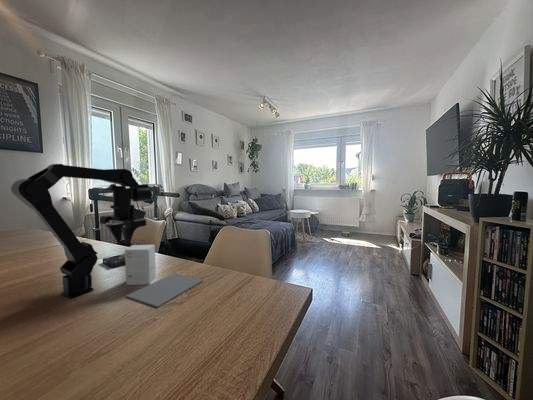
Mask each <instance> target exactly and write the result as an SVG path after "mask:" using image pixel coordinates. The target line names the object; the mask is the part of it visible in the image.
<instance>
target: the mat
mask: <svg viewBox="0 0 533 400" xmlns="http://www.w3.org/2000/svg"><path fill="white" fill-rule="evenodd" d="M202 281H203V282H204V279H200V278H196V277H191V276H187V275H183V274H179V273H176V272H175V273H172V274H170V275H168V276H166V277H163V278H161V279H159V280H157V281H154V282H153V283H152V282H151V283H150V284H148V285H147V286H143V287H142V288H140V289H138V290H135V291H133V292H132V293H129V294H125V295H126V298H128V299H131V300H133V301H136V302H139V303H142V304H146V305H149V306H151V307H154V308H157V309H158V308H160V307H162V306H163V305H165V304H167V303H168V302H170V301H172V300H174V299H176V298H177V297H179V296H180V295H182V294H184V293H185V291H186V292H187V291H189V290H191V289H192V288H194V287H195V285H196V286H198V285H199V284H201V283H203V282H202ZM200 282H201V283H200ZM197 284H198V285H197ZM190 288H191V289H190Z"/></svg>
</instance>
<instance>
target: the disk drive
mask: <svg viewBox="0 0 533 400" xmlns="http://www.w3.org/2000/svg"><path fill="white" fill-rule="evenodd" d="M102 264H104V265H105V266H107V267H108V268H110V269H116V268H120V267H124V266H126V265H125V253H122V254H117V255H113V256H108V257H104V258H102Z"/></svg>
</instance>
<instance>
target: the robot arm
mask: <svg viewBox="0 0 533 400" xmlns="http://www.w3.org/2000/svg"><path fill="white" fill-rule="evenodd" d="M63 178H72V179H84V180H85V179H86V180H95V181H96V180H99V181H104V182H106V183H110V185H109V186H107V187H106V188H105V191H109V192H110V191H111V192H112V205H110V209H112V210H113V213H112V214H109V215H101V217H100V218H99V224H101V225H105V227H106V228H107V229H108V230H109V231H110V233H111V235H112V236H113V237H114V239H115V241H116V242H117V243H121V242H122V237H123V239H124V242H125V244H126V245H130V244H131V242H132V238H133V235H134V233H135V231H136V230H137V229H138V228H141V227H146V226H147V220H146V218H145V217H146V213H147V211H144V210H140V209H137V208H136V207H135V205H134V204H132V202H134V203H135V202H146V201H151V199H152V197H153V194H152V190H151V189H150V187H149V184H148V183H147V184H145V183H144V184H139V182H137V180H136V178H135V177H134V175H133V172H132V171H131V170H130V169H128V168H109V169H107V168H106V169H103V168H93V167H84V166H77V165H76V166H75V165H67V164H63V163H52V164H49V165H48V166H47V167H45V168H44V169H42V170H41V171H38V172H35V173H34V174H32V175H31V176H29V177H28V178H21V179H18V180H16V181H15V182H14V183H12V185H11V187H10V190H11V193H12V194H13V195H14V196H15V197H16V198H17V199H18V200H19V201H20V202H22V203H23V204H24V205H25V206H27V207H28V208H30V209H31V210H33V211H34V212H35V213H36V215H37V216H38V217H39V218H40V220H41V221H42V222H43V223H44V225H45V226H46V227H47V228H48V230H49V231H50V232H51V234H52V236H54V237H55V239H56V240H57V241H58V242H59V244H60V245H61V246H62V248H63V250H64V255H65V258H66V259H67V260H65V262H64V263H63V264H62V265H61V266H60V267H59V270H60V272H61V274H63V275H62V288H63V289H62V290H63V291H61V292H60V295H62V296H64V297H67V298H69V299H73V298H76V297H78V296H81V295H84V294H87V293H89V292H92V291H94V288H93V282H92V280H93V279H92V272H93V269H94V267H95V266H96V264H97V261H98V259H99V258H98V255H97V254H98V251H96V250H95V249H94V246H93V245H92V244H91V243H89V242H85V241H80V240H79V238H78V237H77V236H76V235H75V233H74V232H73V230H72V229H71V228H70V226H69V225H68V224H67V223H66V221H65V220H64V218H63V217H62V215H60V213H59V212H58V210H57V209H56V208H55V206H54V204H53V200H52V196H51V193H50V191H49V190H50V189H51V188H52V187H54V186H55V185H56V184H57V183H58V182H59V181H60V180H61V179H63ZM128 187H129V188H128Z"/></svg>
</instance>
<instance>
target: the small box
mask: <svg viewBox="0 0 533 400" xmlns="http://www.w3.org/2000/svg"><path fill="white" fill-rule="evenodd" d="M124 254H125V265H124V266H125V282H126V283H125V284H126V286H135V285H136V286H139V285H140V286H142V285H147V286H148V285H150V284H152V282H153V281H154V280H155V279H156V278H157V276H156V275H157V274H156V273H157V270H156V245H155V244H132V245H130V246H129V247H127V248H125V249H124Z"/></svg>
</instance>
